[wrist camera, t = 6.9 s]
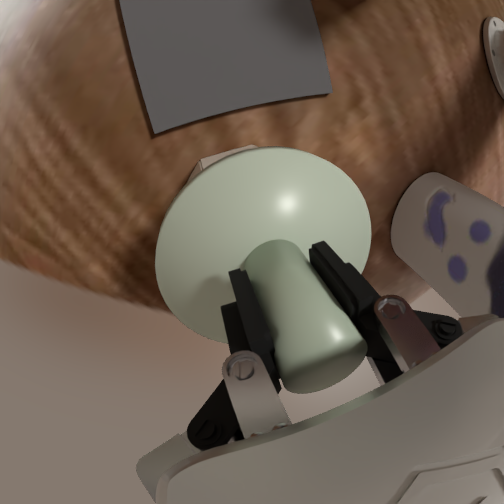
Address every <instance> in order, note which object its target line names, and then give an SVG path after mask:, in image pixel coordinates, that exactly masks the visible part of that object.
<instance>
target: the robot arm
mask: <svg viewBox="0 0 504 504" xmlns="http://www.w3.org/2000/svg"><path fill="white" fill-rule="evenodd" d="M483 39H484V47H485V53H486V58H487V62H488V66H489V69H490V73H491V75H492V78H493V81H494V83H495V86H496V88H497V90H498V92H499V94H500V95H501V97H502V98H503V99H504V22H502V21H501V20H500V19H499V18H497V17H488V18H487V19H486V20H485V22H484V27H483ZM309 259H310V263H311V265H312V266H313V267H314V269H315V270H316V271H317V273H318V274H319V276H320V277H321V278H322V280H323V281H324V282H325V284H326V285H327V287H328V288H329V289H330V291H331V292H332V294H333V295H334V296H335V298H336V299H337V301H338V302H339V304H340V305H341V306H342V308H343V309H344V311H345V312H346V314H347V315H348V316H349V318H350V319H351V321H352V322H353V324H354V325H355V326H356V328H357V329H358V331H359V332H360V334H361V335H362V337H363V338H364V340H365V341H366V343H367V347H368V348H367V353H366V356H367V359H368V361H369V363H370V365H371V367H372V369H373V371H374V373H375V375H376V377H377V379H378V381H379V383H380V385H381V386H380V387H378V388H376V389H374V390H373V391H370V392H368V393H366V394H364V395H362V396H360V397H358V398H356V399H354V400H352V401H350V402H347V403H345V404H343V405H341V406H339V407H336V408H334V409H331V410H329V411H327V412H324V413H322V414H319V415H317V416H314V417H312V418H309V419H306V420H304V421H301V422H298V423H295V424H292V423H291V421H290V419H289V417H288V415H287V413H286V410H285V409H284V407H283V404H282V402H281V400H280V398H279V396H278V394H279V392H280V390H281V385H280V382H279V379H280V378H281V377H280V375H279V372H278V369H277V367H276V364H275V361H274V354H275V347H274V344H273V340H272V337H271V334H270V331H269V328H268V326H267V323H266V321H265V318H264V316H263V313H262V310H261V308H260V305H259V303H258V300H257V297H256V295H255V292H254V290H253V287H252V284H251V282H250V279H249V277H248V274H247V271H246V270H243V271H241V269H240V268H238V269H235V270H232V271H229V272H228V274H229V277H230V281H231V284H232V288H233V291H234V295H235V298H236V301H235V302H232V303H229V304H226V305H222V306H220V308H221V313H222V317H223V322H224V326H225V331H226V335H227V340H228V344H229V348H230V353H231V355H230V356H229V357H228V358H227V359H226V360H225V362H224V363H223V367H222V374H223V377H224V379H223V380H222V381H221V383H220V384H219V386H218V387H217V388H216V390H215V391H214V392H213V393H212V395H211V396H210V397H209V399H208V400H207V401H206V403H205V404H204V405H203V406H202V408H201V409H200V410H199V412H198V413H197V414H196V415H195V417H194V418H193V419H192V420H191V422H190V424H189V426H188V428H187V431H185V432H184V433H182V434H181V435H180V434H177V435H175V436H174V437H172V438H171V439H169V440H168V441H166V442H165V443H163V444H162V445H160V446H159V447H157V448H156V449H154V450H153V451H151V452H149V453H148V454H146V455H144V456H143V457H142V458H141V459H139V461H138V463H137V465H136V471H137V474H138V477H139V478H140V480H141V481H142V483H143V485H144V486H145V488H146V489H147V491H148V492H149V494H150V495H151V497H152V499H153V500H154V501H155V503H156V504H504V318H499V317H498V316H497V315H495V314H485V315H478V316H470V317H463V318H459V320H458V321H457V320H456V319H454V318H452V317H449V316H445V315H439V314H433V313H427V312H421V311H416V310H413V309H412V308H411V307H410V306H409V304H408V303H407V302H406V301H405V300H404V299H403V298H401V297H399V296H396V295H386V296H382V297H381V296H380V295H379V294H378V293H377V292H376V291H375V290H374V288H373V287H372V286H371V285H370V284H369V283H368V282H367V280H366V279H365V278H364V277H363V276H362V275H361V274H360V273H359V272H358V270H357V269H356V268H355V267H354V266H353V265H352V264H351V263H349V262H347V263H344V261H343V260H342V259H341V258H340V257H339V256H338V255H337V254H336V253H335V251H334V250H333V249H332V248H331V247H330V246H329V245H328V244H327V243H326V242H325V241H321V242H318V243H315V244H312V248H310V249H309Z"/></svg>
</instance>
